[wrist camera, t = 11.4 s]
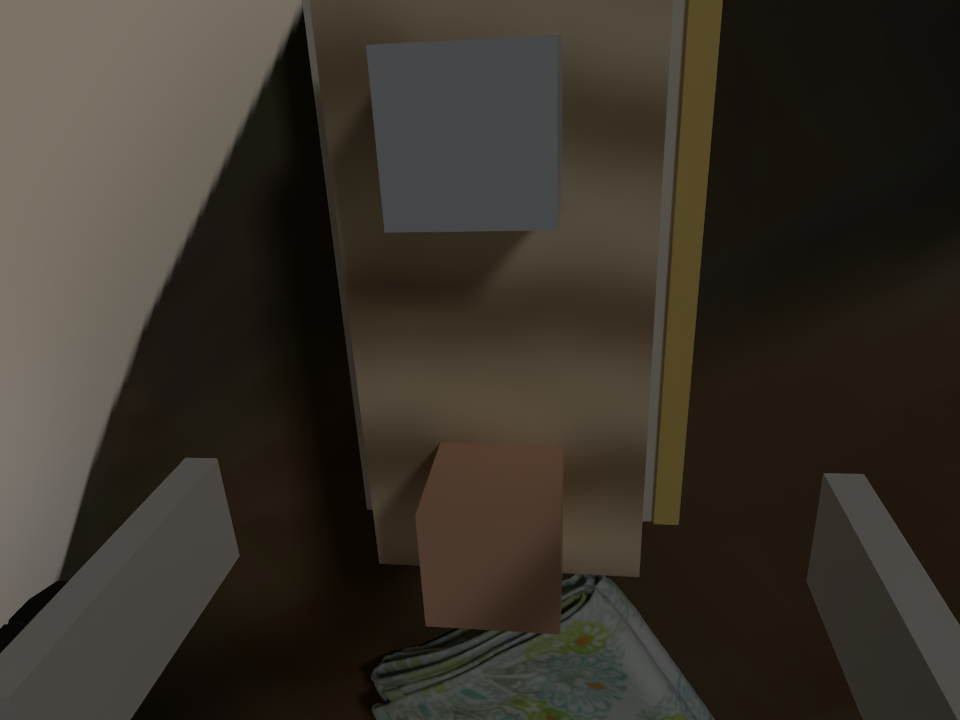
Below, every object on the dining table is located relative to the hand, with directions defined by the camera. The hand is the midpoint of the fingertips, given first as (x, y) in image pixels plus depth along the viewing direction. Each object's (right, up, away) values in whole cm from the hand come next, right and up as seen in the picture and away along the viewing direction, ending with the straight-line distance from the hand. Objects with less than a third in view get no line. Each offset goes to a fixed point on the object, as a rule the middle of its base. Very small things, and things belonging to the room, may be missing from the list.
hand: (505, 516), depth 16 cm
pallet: (+1, +7, +16) cm, 18 cm away
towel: (+5, -20, +34) cm, 40 cm away
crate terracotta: (0, -2, +13) cm, 13 cm away
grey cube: (0, +11, +7) cm, 13 cm away
